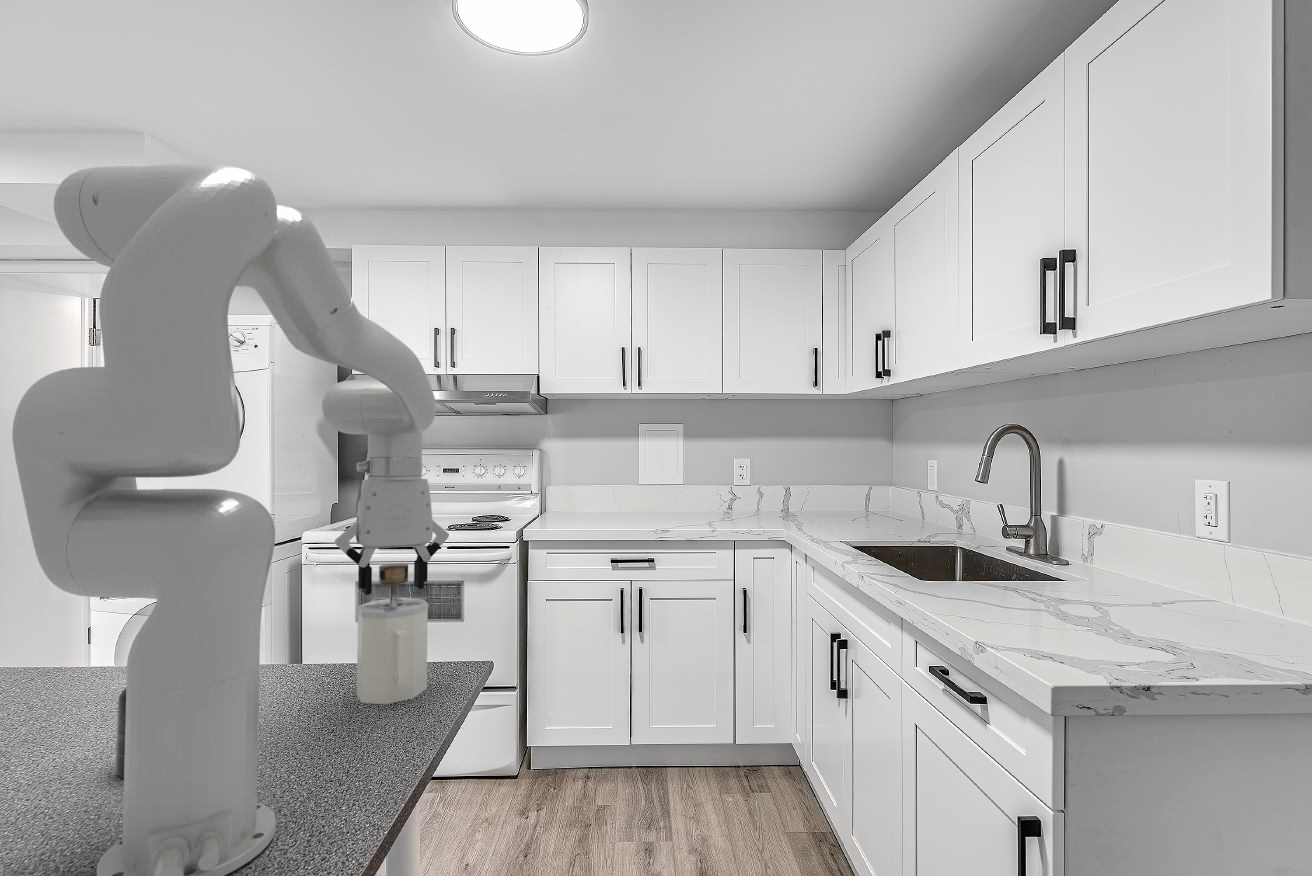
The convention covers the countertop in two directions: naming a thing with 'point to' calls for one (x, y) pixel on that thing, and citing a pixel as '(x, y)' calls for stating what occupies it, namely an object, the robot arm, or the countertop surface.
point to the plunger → (393, 578)
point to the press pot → (392, 650)
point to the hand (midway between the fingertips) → (393, 589)
